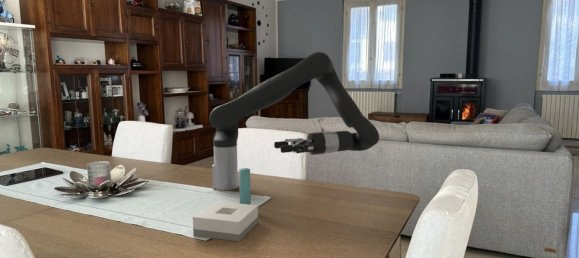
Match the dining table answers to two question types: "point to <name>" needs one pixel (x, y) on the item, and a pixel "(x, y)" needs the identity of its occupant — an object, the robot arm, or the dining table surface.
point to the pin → (244, 186)
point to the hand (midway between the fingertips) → (277, 147)
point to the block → (225, 221)
